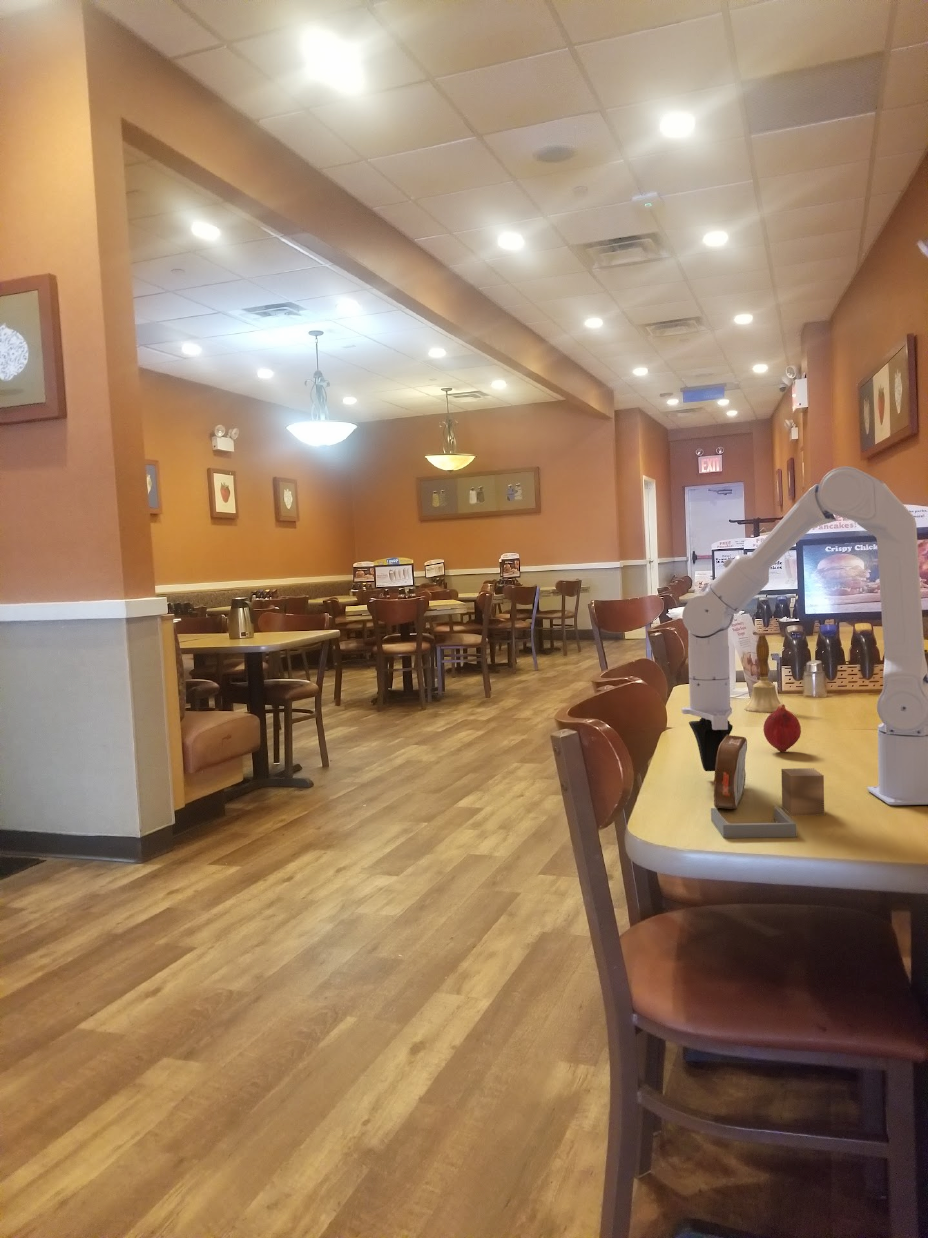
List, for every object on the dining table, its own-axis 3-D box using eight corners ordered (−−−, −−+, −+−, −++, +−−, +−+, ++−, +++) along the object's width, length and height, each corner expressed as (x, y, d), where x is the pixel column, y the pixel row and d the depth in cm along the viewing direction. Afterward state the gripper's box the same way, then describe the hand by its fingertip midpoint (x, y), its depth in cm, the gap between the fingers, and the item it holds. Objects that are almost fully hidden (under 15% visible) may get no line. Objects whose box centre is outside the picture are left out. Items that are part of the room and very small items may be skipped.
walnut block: (813, 806, 114) (813, 768, 113) (824, 815, 110) (823, 775, 109) (782, 807, 114) (781, 768, 114) (791, 815, 110) (790, 776, 110)
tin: (726, 787, 125) (725, 728, 125) (750, 789, 124) (749, 729, 123) (711, 816, 111) (710, 750, 111) (737, 818, 110) (736, 751, 110)
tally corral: (779, 819, 109) (778, 807, 108) (796, 837, 101) (796, 824, 101) (711, 820, 109) (710, 808, 109) (723, 838, 102) (723, 825, 102)
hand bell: (766, 714, 183) (764, 637, 182) (735, 709, 190) (734, 635, 189) (794, 709, 187) (792, 634, 186) (763, 705, 194) (761, 632, 193)
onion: (804, 755, 143) (803, 706, 142) (766, 755, 144) (765, 706, 143) (797, 748, 148) (797, 701, 148) (761, 748, 150) (760, 701, 149)
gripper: (673, 672, 136) (675, 760, 137) (689, 685, 122) (692, 782, 123) (720, 671, 136) (722, 759, 136) (742, 683, 121) (744, 781, 122)
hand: (711, 770), depth 129 cm, fingers closed
